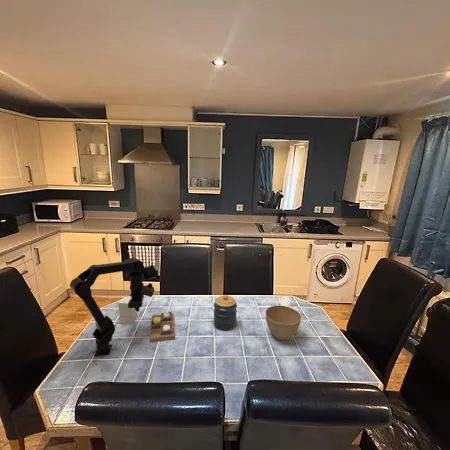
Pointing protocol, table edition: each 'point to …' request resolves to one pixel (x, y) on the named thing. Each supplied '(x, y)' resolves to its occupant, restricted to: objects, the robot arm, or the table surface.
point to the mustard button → (156, 320)
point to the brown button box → (157, 330)
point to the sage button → (166, 315)
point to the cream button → (166, 327)
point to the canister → (225, 313)
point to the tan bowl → (282, 321)
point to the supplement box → (126, 311)
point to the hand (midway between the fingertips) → (137, 311)
